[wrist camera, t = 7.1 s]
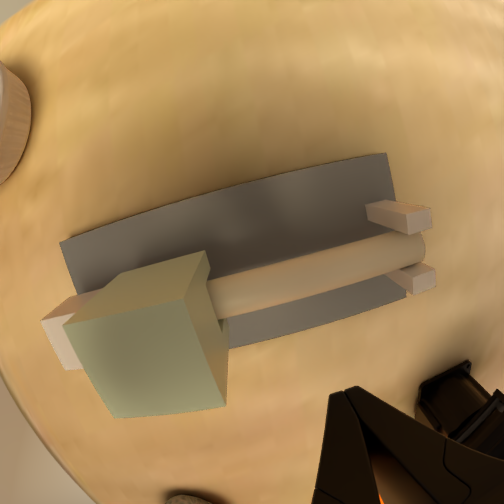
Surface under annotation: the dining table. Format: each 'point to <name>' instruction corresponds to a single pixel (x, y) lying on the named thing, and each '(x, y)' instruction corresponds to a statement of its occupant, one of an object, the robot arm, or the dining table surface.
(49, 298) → the dining table surface
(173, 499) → the grey rounded oval lump
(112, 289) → the matte sage green cube
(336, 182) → the cord board
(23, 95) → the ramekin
